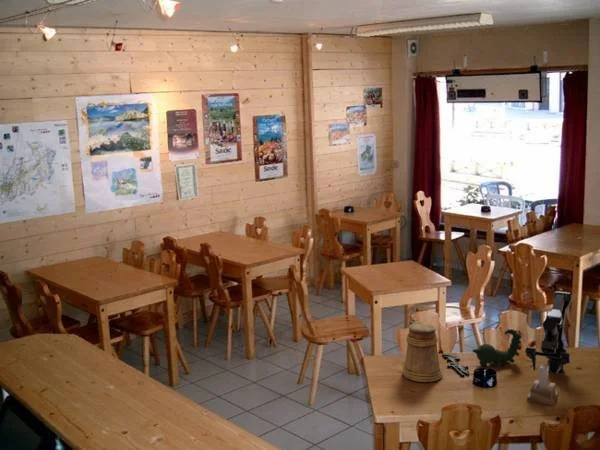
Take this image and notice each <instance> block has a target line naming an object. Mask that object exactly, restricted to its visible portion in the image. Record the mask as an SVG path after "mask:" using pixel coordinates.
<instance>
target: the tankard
mask: <svg viewBox="0 0 600 450" xmlns="http://www.w3.org/2000/svg"><path fill="white" fill-rule="evenodd" d="M408 323H409V324H408V325H409V326H408V334H407V336H406V339H405V342H406V344H407V347H406V352H405V362H404V364H403V366H402V375H403V376H404V377H405V378H406V379H408V380H410V381H413V382H418V383H430V382H435V381H439V380H440V379H441V378H443V371H442V368H441V366H440V359H439V354H438V353H439V352H438V345H437V343H438V335H437V334H436V330H437V329H436V327H435V326H434V325H432V324H430V323H429V324H428V323H424V322H422V321H421V320H418V319H417V318H416V317H413V318H412V320H410V321H409V322H408Z"/></svg>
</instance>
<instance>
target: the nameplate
mask: <svg viewBox="0 0 600 450" xmlns="http://www.w3.org/2000/svg"><path fill="white" fill-rule="evenodd" d="M441 357H442V358H443V359H444V360H446V362H447V363H450V364H447V365H446V369H453V371H455V373H457V375H459V376H460V377H461V378H465V376H467V377H470V370H468V369H469V366H468V365H463V364H459V362H460V361H461V358H460V357H456V355H453V354H450V353H449V354H448V353H442V354H441Z"/></svg>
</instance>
